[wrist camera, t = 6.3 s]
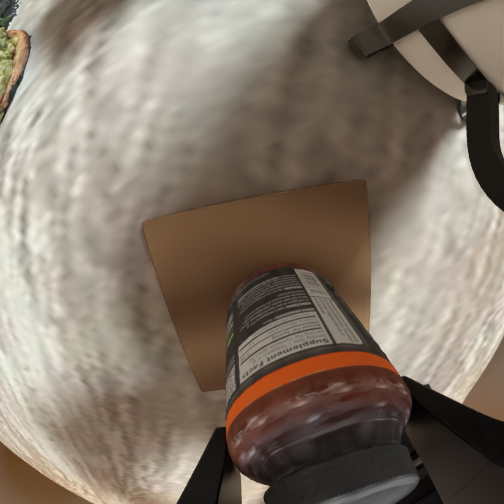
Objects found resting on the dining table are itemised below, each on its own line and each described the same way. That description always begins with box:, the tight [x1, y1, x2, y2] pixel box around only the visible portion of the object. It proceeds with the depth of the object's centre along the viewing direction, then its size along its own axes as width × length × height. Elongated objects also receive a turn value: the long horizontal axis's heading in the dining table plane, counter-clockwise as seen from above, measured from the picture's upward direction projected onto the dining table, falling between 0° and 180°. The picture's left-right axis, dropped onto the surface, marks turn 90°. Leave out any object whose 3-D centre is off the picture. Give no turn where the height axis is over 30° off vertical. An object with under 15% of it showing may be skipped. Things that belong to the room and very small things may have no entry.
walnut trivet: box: [142, 180, 371, 392], centre depth 16 cm, size 12×12×1 cm
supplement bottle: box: [225, 263, 420, 504], centre depth 9 cm, size 6×6×11 cm
